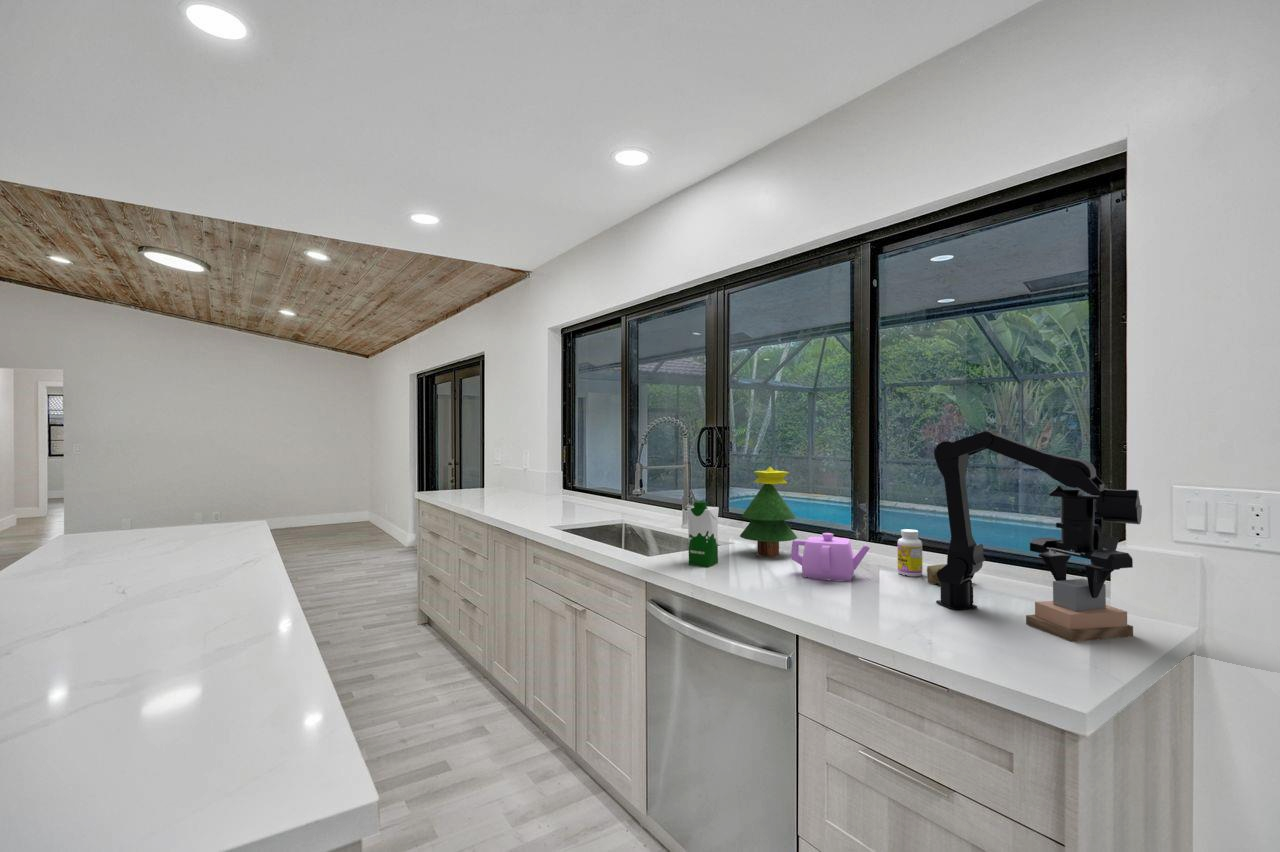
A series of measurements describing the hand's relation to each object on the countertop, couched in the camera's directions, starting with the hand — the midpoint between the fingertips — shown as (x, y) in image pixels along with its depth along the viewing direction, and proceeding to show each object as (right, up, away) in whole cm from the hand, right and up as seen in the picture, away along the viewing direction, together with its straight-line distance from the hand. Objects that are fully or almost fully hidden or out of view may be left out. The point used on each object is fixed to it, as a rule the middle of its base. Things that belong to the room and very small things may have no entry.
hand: (1078, 593), depth 126 cm
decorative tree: (-49, -9, +78) cm, 92 cm away
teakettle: (-37, -9, +49) cm, 62 cm away
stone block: (-7, -9, +39) cm, 41 cm away
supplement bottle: (-13, -8, +49) cm, 52 cm away
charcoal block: (0, -3, 0) cm, 3 cm away
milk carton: (-72, -9, +65) cm, 97 cm away
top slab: (0, -6, 0) cm, 6 cm away
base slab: (0, -9, 0) cm, 9 cm away
